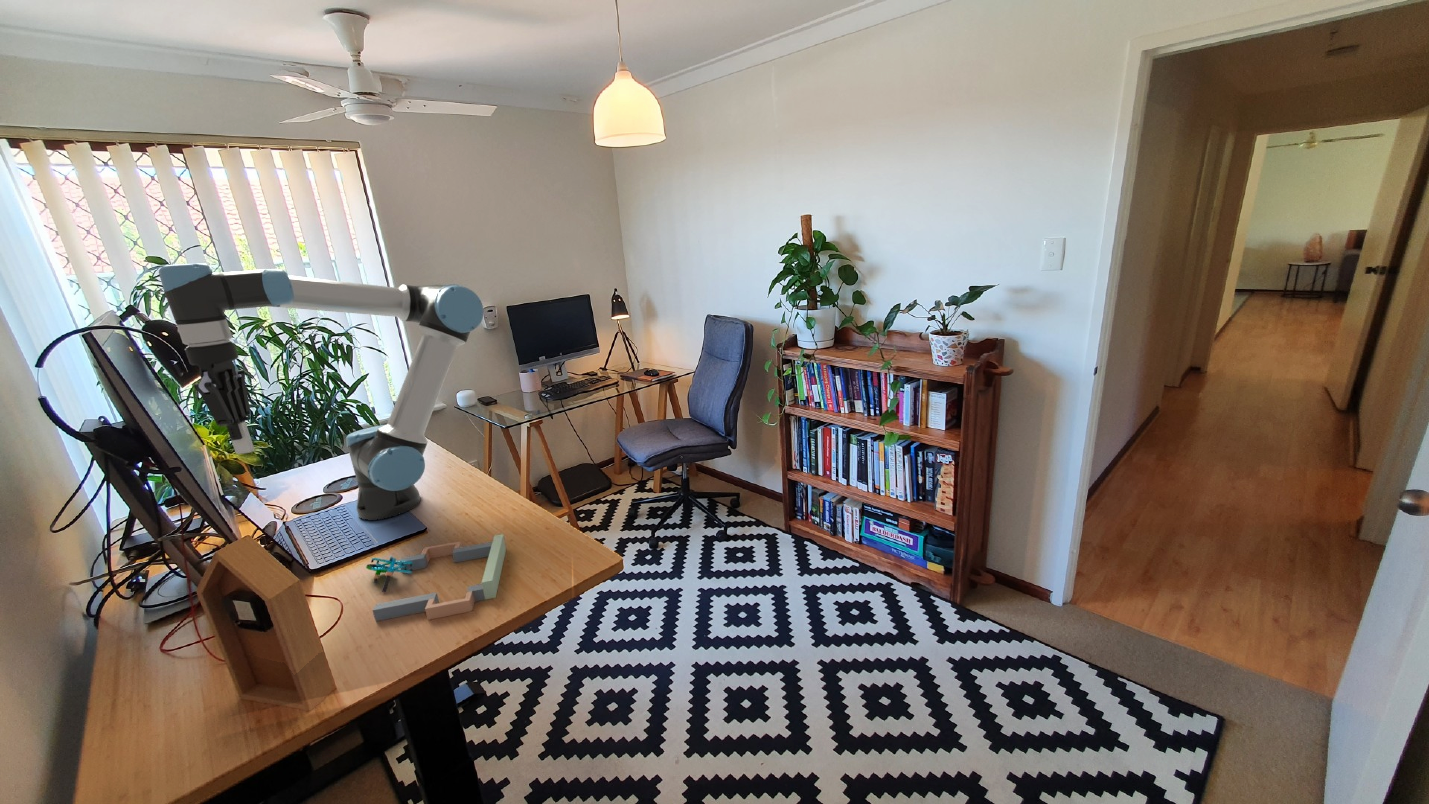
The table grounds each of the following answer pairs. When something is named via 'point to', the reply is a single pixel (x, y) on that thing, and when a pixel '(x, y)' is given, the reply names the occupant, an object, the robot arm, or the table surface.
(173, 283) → the robot arm
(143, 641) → the table surface
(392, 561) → the stick construction toy
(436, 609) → the wall
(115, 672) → the table surface
